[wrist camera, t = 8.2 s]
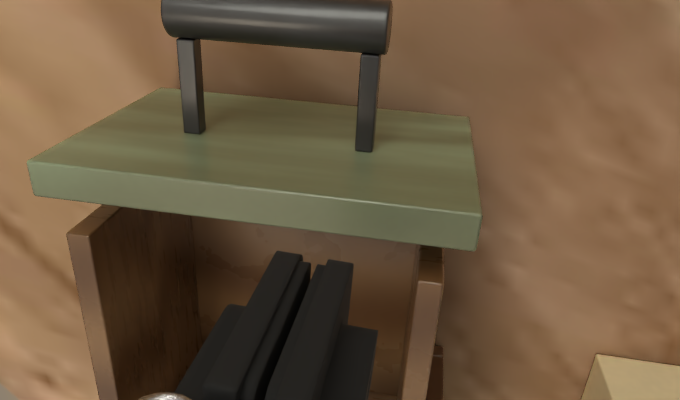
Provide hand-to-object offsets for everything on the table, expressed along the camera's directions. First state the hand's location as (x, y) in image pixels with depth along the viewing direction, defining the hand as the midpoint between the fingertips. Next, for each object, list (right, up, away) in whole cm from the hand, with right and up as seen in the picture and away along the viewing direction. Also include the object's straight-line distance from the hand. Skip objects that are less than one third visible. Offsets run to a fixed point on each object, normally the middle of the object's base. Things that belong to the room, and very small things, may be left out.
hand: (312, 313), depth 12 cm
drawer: (-1, +2, +14) cm, 14 cm away
